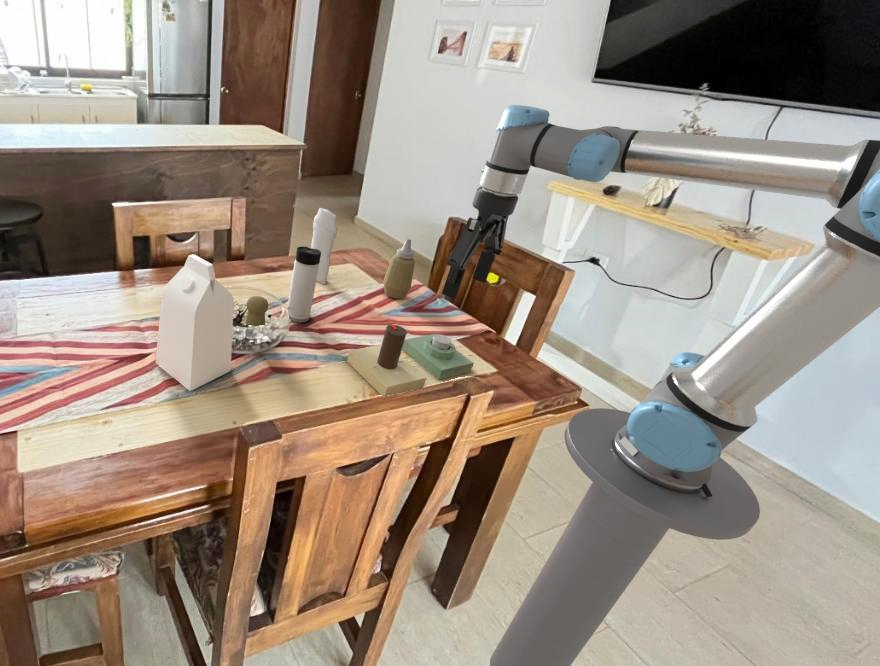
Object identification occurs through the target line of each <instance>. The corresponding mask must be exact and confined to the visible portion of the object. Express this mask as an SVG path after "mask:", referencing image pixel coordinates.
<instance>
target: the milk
mask: <svg viewBox="0 0 880 666" xmlns="http://www.w3.org/2000/svg"><path fill="white" fill-rule="evenodd" d="M234 305H235V299H234V296H233V294H232V293H231V291H229V290H228V289H227V288H226V287H225V286H224V285H222V284H221V283H220V282H219V281H218V280H217V279H216V274H215V268H214V265H213V263H211V262H209V261H207V260H205V259H203V258H202V257H200V256H198V255H197V254H195V253H193V254H189V255H188V256H187V258H186V260H185V262H184V266H182V267H181V268H180V270H178V272H177V273H176V274H175V275H173V277H172V278H171V279H170V280H169V281H168V282H167V283H166V285H165V286H164V288H163V289H162V291H161V298H160V311H159V322H158V333H157V343H156V353H155V364H156V365H157V366H158V367H159V368H160V369H162V370H163V371H165V372H166V373H167V374H168V375H169V376H170V377H172V378H173V379H174V380H176V381H177V382H178V383H179V384H181V385H182V386H183V387H184V388H185V389H187V391H189V392H191V391H193V390H196V389H197V388H199V387H202V386H204V385H206V384H208V383H210V382H211V381H214V380H216V379H217V378H220V377H221V376H223V375H225V374H227V373H230V372H231V371H232V350H233V327H234V308H235V307H234Z"/></svg>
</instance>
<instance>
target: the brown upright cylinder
mask: <svg viewBox="0 0 880 666" xmlns="http://www.w3.org/2000/svg"><path fill="white" fill-rule="evenodd" d="M407 334H408V333H407V329H406V328H404V327H403V326H400V325H397V324H393V323H389V324H388V325H386V328H385V331H384V334H383V338H382V342H381V344H382V345H381V344H380V345H381V349H380V353H379V356H378V360H377V362H378V364H379V365H380V366H381V367H383V368H386V369H395V368H396V367H397V364H398V361H399V357H400V355H401V353H402V350H403V349H402V347H403V344H404V340H405V339H406V337H407Z"/></svg>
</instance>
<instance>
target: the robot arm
mask: <svg viewBox="0 0 880 666" xmlns="http://www.w3.org/2000/svg"><path fill="white" fill-rule="evenodd" d="M549 118H550V112H549V111H548V110H547V109H544V108H539V107H535V106H530V105H523V104H511V105H508V106H507V107H505V109H504V110H503V113H502V115H501V118H500V120H499V122H498V125H497V127H496V129H495V134H494V137H493V140H492V144H491V147H490V150H489V153H488V156H487V159H486V162H485V165H484V167H482V168H481V171H480V172H481V173H482V175H481V177H480V181H479V186H480V187H478V188H477V189H476V191H475V194H474V197H473V200H472V207H473V208H474V209H476V211H478V213H477V215H476V217H468V219H467V221H466V223H465V226H464V228H463V230H462V233H461V234H460V236H459V239H458V240H457V242H456V244H455V246H454V247H453V249H452V251H451V253H450V255H449V257H448V259H447V260H446V263H445V265H447V266H449V270H448V273H447V277H446V280H445V282H444V286H443V288H442V292H441V294H442V295H444V296H446V297H448V298H450V299H451V300H455V299H456V298H457V296H458V293H459V290H460V287H461V285H462V281H463V279H464V276H465V273H466V269H467V268H466V266H467V264H468V263H469V261H470V260H471V258H472V257H473V255H474V253H475V252H476V251H477V249H478V248H479V246H480V245H481V244H483V243H484V244H483V245H484V250H482V251H481V253H480V255H479V258H478V261H477V263H476V267H475V269H474V272H473V275H472V279H474V280H475V281H477V282H481V283H483V284H485V283H486V282H487V279H488V278H489V277H488V276H489V274H490V272H491V269H492V266H493V263H494V261H495V258H496V255H498V256H501V255H502V253H503V250H502V249H503V248H504V242H505V237H506V230H507V225H508V224H507V223H508V220H509V217H510V216H511V215H513V213H514V211H515V209H516V206H517V203H518V201H519V195H520V194H521V193H522V191H523V189H524V185H525V183H526V180H527V177H528V175H529V172H530V168H531V167H533V168H536V169H541V170H544V171H549V172H552V173H555V174H558V175H562V176H565V177H569V178H573V179H574V180H576V181H586V182H589V183H600V182H601V181H603V180H604V179H606V177H608V175H609V174H610V173H619V174H630V175H636V176H637V175H639V176H645V177H646V176H647V177H654V178H661V179H668V180H676V181H683V182H690V183H697V184H698V183H699V184H705V185H713V186H721V187H728V188H735V189H736V188H737V189H744V190H751V191H760V192H766V193H772V194H773V193H774V194H781V195H789V196H796V197H804V198H812V199H819V200H826V201H827V202H828V203H829V204H830V205H831V207H832V208H833V209H838V210H837V212H836V213H834V215H833V216H832V217H830V219H829V220H828V221H827V222H825V224H824V225H823V226H822V230H823V234H824V239H825V240H824V244H823V245H822V246H821V247H819V249H818V250H817V251H816V252H814V253H813V254H812V255H811V256H810V257H809V258H808V259H807V260H805V262H803V264H802V265H801V266H799V268H797V269H796V270H795V271H794V272H793V273H792V274H791V275H790V276H789V277H788V278H787V279H786V280H785V281H784V282H783V283H781V284H780V285H779V286H778V287H777V288H776V289H775V290H774V291H773V292H772V293H771V294H770V295H769V296H768V297H767V298H766V299H764V301H762V302H761V303H760V304H759V305H758V306H756V308H755V309H754V310H752V312H751V313H750V314H748V315H747V317H745V318H744V319H743V320H742V321H741V322H740V323H739V324H737V326H736V327H734V329H732V331H731V332H729V333H728V334H727V335H726V336H725V337H724V338H722V340H721V341H719V342H718V344H717V345H715V346H714V348H712V349H711V350H710V351H709V352H708V353H707V354H706V355H703V354H700V353H696V352H688V351H685V352H679V353H677V354H676V355H675V356H674V358H673V359H672V360H671V361H669V366H668V367H667V369H666V371H665V372H664V373H663V375H662V376H661V378H660V379H659V381H658V382H657V383H656V384H655V385H654V386H653V388H652V389H651V390H650V391H649V392H648V393H647V394H646V396H645V397H644V398H643V399H641V401H640V402H639V404H637V405H635V406H634V407H633V408H632V409H631V411H630V413H631V414H630V417H629V419H628V423H627V424H626V425H625V426H624V427H622V428H621V429H620V430H618V431H617V433H616V434H615V436H614V438H613V439H612V447H613V450H614V452H615V453H616V455H617V456H618V457H619V459H620V460H621V461H622V462H623V463H624V464H625V465H626V466H628V467H629V468H630V469H631V470H633V471H634V472H635V473H637V474H638V475H640V476H641V477H643V478H645V479H646V480H648V481H650V482H652V483H654V484H656V485H659V486H661V487H664V488H666V489H669V490H673V491H676V492H681V493H698V492H701V491H702V490H703V492H704V493H705V495H706V497H712V494H711V492H710V490H709V488H708V486H707V484H708V483H709V481H710V478H711V472H712V465H713V464H714V463H715V462H717V461H718V459H719V457H721V456H722V451H723V450H724V449H725V448H726V447H728V446H729V445H730V444H731V443H733V442H734V441H735V440H736V439H738V438H739V437H740V436H741V435H743V434H744V433H745V432H747V431H748V430H749V429H751V428H752V427H753V426H755V424H756V423H758V415H757V411H756V407H757V406H758V405H760V404H761V403H762V402H763V401H764V400H766V399H767V398H768V397H769V396H771V395H772V394H773V393H775V392H776V391H777V390H778V389H779V388H781V387H782V386H783V385H784V384H786V383H788V381H789V380H791V379H792V378H793V377H794V376H795V375H797V374H799V372H801V371H802V370H804V368H806V367H807V366H808V365H809V364H811V363H812V362H813V361H814V360H816V359H817V358H818V357H819V356H820V355H821V354H823V353H824V352H825V351H827V350H828V349H829V348H830V347H832V346H833V345H834V344H835V343H837V342H838V341H840V339H842V338H843V337H844V336H845V335H847V334H848V333H849V332H851V331H852V330H853V329H854V328H855V327H856V326H858V325H859V324H860V323H861V322H863V321H864V320H865V319H867V317H869V316H871V314H873V313H874V312H875V311H877V310H878V309H879V308H880V139H879V140H878V139H864V140H862V141H860V142H859V141H858V142H857V143H855V144H853V145H843V144H828V143H816V142H804V141H803V142H802V141H788V140H775V139H763V138H749V137H738V136H737V137H735V136H723V135H711V134H710V135H709V134H699V133H683V132H671V131H670V132H669V131H659V130H643V129H641V130H639V129H638V130H637V129H631V128H630V129H629V128H621V127H619V126H613V125H611V126H609V125H608V126H601V127H596V128H587V129H577V128H572V127H571V128H570V127H566V126H561V125H560V126H559V125H556V124H552V123H550V122H549V121H550V119H549Z"/></svg>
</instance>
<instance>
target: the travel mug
mask: <svg viewBox="0 0 880 666" xmlns="http://www.w3.org/2000/svg"><path fill="white" fill-rule="evenodd" d="M320 257H321V251H320V250H318V249H312V248H311V247H309V246H303V245H302V246H297V248H296V253H295V257H294V263H293V270H292V275H291V281H290V288H289V293H288V301H287V307H286V312H287V313H288V315H289V319H288V320H290V321H292V322H295V323H306V322H308V321H310V318H311V313H312V306H313V301H314V296H315V290H316V285H317V281H316V280H317V275H318V269H319V264H320Z"/></svg>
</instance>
